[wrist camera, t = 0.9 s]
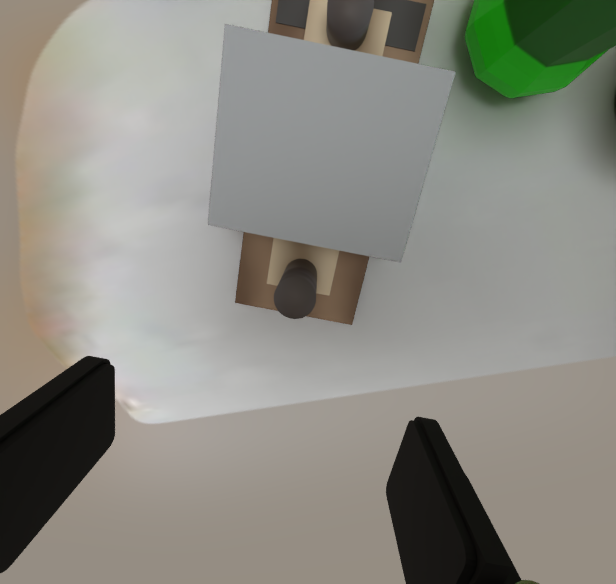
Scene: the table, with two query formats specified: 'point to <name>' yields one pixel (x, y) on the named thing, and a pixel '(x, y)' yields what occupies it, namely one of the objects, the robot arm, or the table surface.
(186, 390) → the table surface
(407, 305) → the table surface
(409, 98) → the tunnel
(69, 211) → the table surface
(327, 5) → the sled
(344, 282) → the track board
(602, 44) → the plastic bottle
